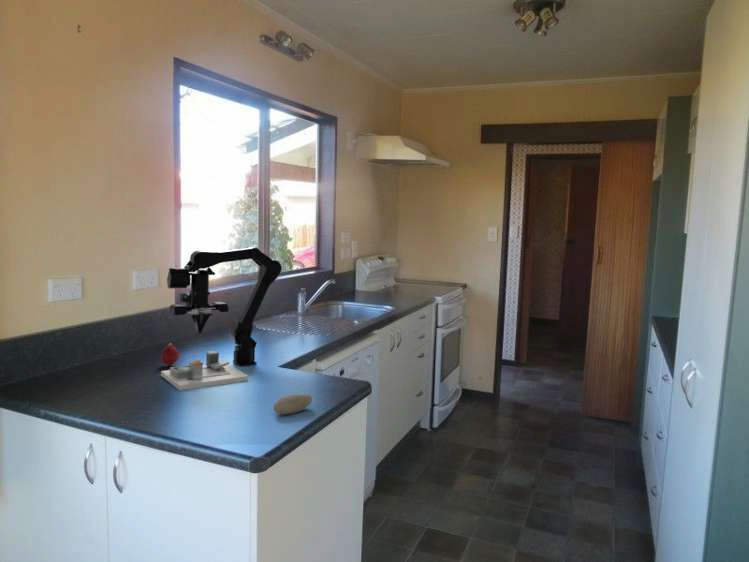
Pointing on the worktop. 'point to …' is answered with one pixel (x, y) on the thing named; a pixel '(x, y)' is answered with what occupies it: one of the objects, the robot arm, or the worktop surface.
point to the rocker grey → (219, 364)
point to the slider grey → (211, 358)
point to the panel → (203, 377)
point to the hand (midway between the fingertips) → (199, 333)
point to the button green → (183, 369)
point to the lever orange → (196, 369)
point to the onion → (169, 355)
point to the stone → (292, 404)
